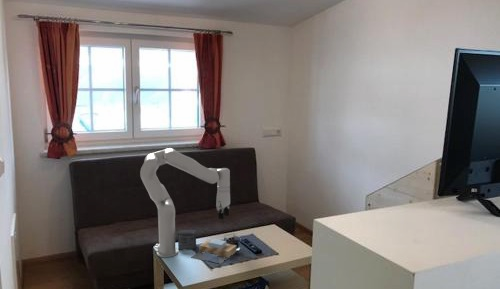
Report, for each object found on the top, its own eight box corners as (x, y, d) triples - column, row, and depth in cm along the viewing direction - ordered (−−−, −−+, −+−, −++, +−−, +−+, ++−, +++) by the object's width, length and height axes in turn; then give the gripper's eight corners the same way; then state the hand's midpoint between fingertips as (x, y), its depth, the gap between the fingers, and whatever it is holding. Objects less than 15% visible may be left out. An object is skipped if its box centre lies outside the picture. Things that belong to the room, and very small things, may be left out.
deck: (199, 251, 235) (199, 245, 235) (208, 245, 244) (207, 239, 244) (228, 258, 227) (228, 251, 226) (236, 251, 236) (236, 245, 235)
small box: (196, 245, 245) (196, 229, 243) (195, 249, 238) (195, 233, 237) (179, 245, 244) (179, 229, 243) (178, 250, 238) (177, 233, 236)
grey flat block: (208, 246, 234) (208, 242, 233) (213, 242, 239) (213, 238, 239) (221, 248, 230) (221, 244, 229) (226, 245, 235) (226, 241, 235)
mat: (190, 257, 227) (190, 257, 227) (199, 251, 235) (199, 251, 235) (220, 264, 219) (220, 263, 219) (228, 258, 227) (228, 257, 227)
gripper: (225, 184, 246) (225, 212, 249) (210, 191, 231) (211, 220, 233) (235, 186, 243) (235, 213, 245) (222, 192, 227) (222, 222, 230)
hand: (223, 216), depth 239 cm, fingers open, 6 cm apart
